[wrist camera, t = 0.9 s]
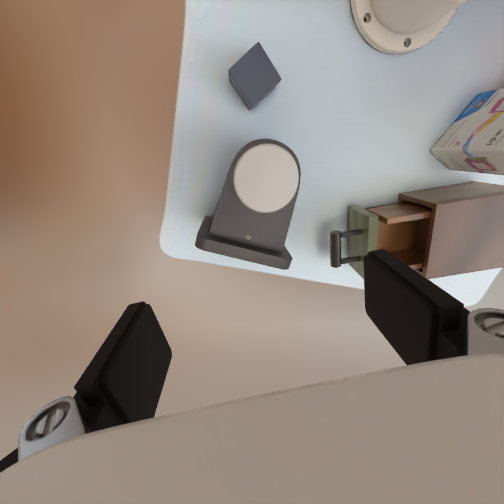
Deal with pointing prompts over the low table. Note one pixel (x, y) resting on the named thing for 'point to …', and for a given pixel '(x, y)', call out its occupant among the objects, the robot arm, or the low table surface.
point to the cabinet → (462, 228)
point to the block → (254, 76)
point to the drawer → (384, 234)
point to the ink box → (476, 137)
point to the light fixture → (255, 206)
